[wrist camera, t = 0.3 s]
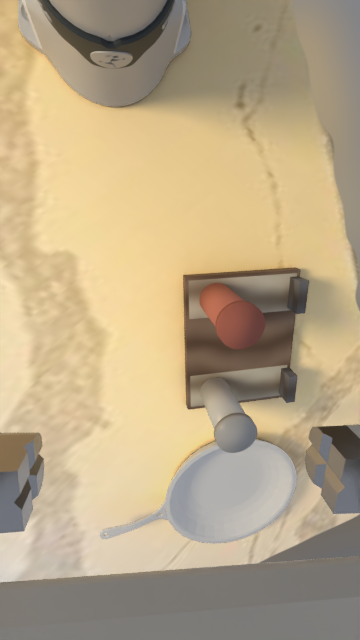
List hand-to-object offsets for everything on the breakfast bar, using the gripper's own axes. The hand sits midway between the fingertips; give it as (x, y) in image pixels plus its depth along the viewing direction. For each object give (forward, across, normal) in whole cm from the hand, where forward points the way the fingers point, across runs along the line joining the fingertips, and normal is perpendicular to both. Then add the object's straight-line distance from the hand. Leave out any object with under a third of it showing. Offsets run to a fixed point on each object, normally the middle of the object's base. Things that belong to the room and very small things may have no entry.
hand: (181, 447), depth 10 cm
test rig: (+41, -15, +11) cm, 45 cm away
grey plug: (+40, -11, +20) cm, 46 cm away
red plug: (+38, -10, +4) cm, 40 cm away
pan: (+44, -10, +44) cm, 63 cm away
